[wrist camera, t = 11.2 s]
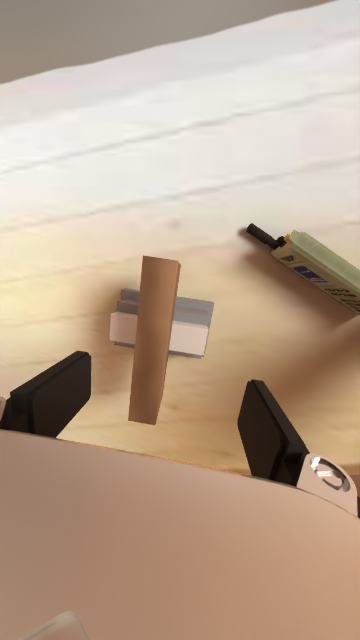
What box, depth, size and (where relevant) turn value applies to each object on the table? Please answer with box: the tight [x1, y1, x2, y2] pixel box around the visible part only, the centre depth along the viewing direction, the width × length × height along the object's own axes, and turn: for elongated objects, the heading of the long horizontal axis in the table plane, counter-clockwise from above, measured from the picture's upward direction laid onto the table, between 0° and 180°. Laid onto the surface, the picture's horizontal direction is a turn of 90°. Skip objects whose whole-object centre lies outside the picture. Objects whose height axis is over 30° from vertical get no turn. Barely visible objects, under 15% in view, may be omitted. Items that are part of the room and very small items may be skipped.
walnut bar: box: [128, 256, 181, 425], centre depth 23 cm, size 4×20×6 cm, turn 172°
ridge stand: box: [109, 289, 214, 359], centre depth 29 cm, size 16×10×8 cm, turn 82°
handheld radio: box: [246, 223, 360, 315], centre depth 26 cm, size 7×3×25 cm
